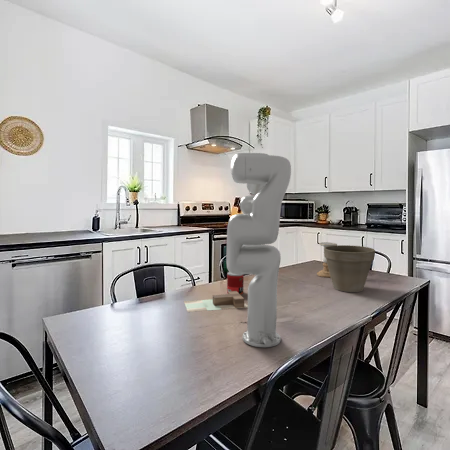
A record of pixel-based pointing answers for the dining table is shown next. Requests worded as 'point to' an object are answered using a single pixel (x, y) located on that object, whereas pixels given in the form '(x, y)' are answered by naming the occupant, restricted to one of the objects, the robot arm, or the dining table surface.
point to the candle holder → (325, 262)
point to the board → (206, 309)
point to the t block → (229, 299)
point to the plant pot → (349, 266)
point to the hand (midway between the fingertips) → (251, 266)
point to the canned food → (235, 282)
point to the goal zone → (204, 305)
